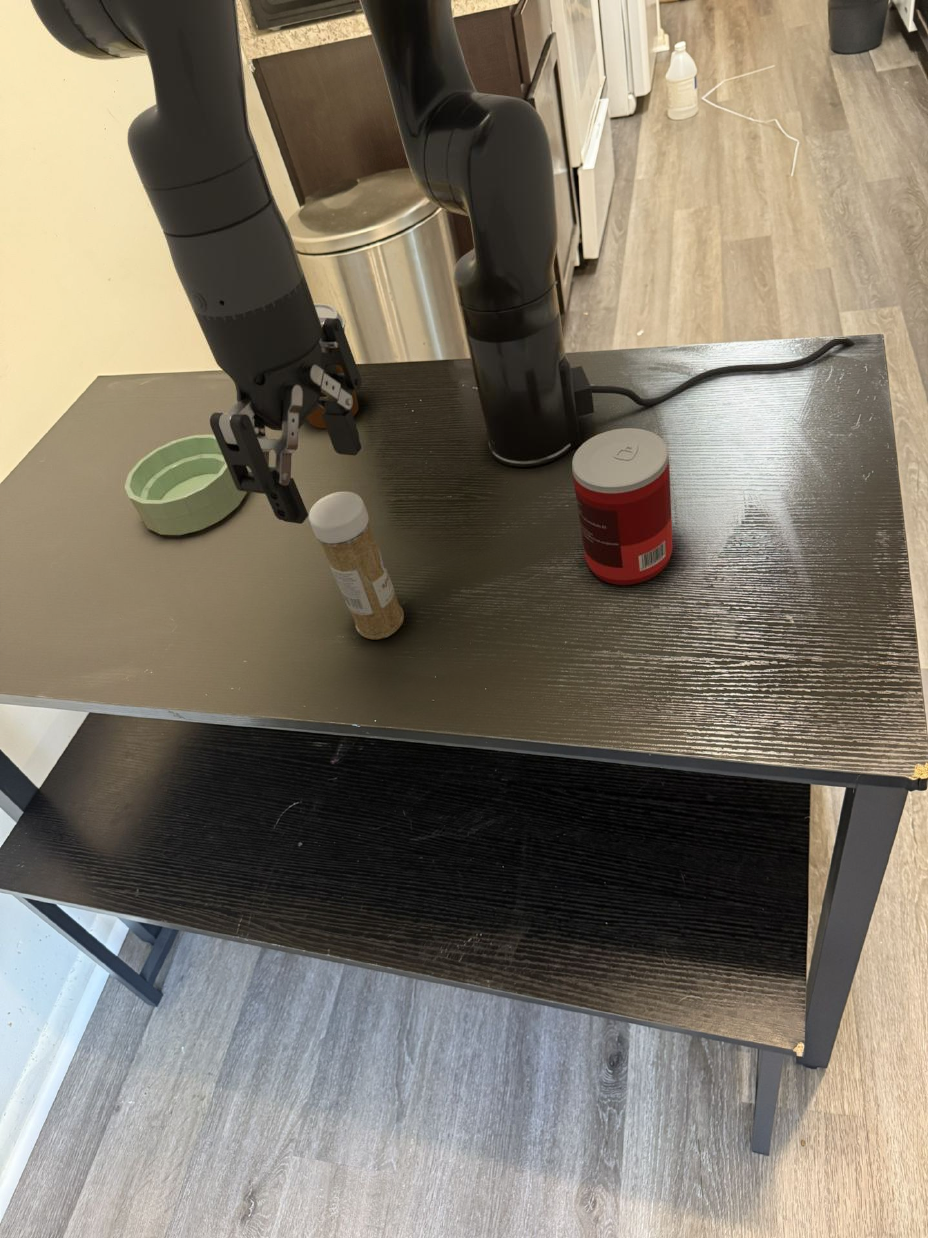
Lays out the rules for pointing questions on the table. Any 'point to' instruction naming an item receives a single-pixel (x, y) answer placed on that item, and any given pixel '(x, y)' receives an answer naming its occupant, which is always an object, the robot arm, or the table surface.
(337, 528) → the sprinkles bottle
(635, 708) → the table surface
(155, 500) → the bowl
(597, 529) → the canned food
